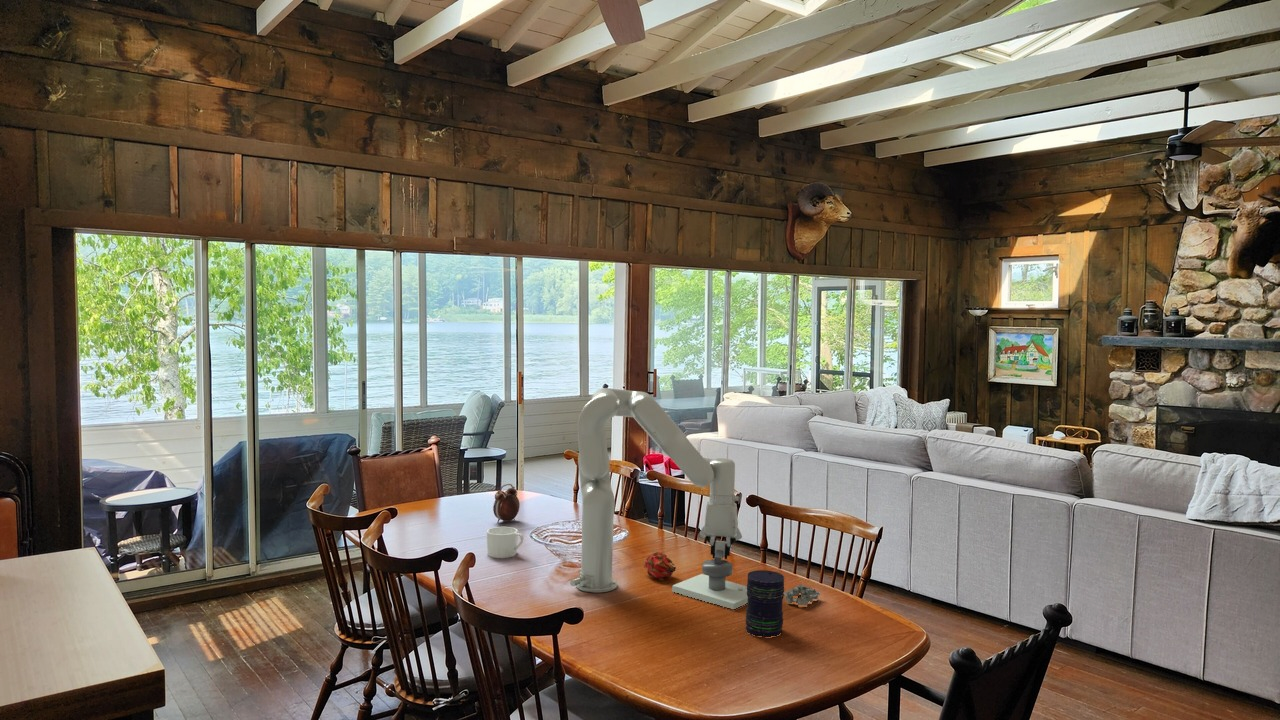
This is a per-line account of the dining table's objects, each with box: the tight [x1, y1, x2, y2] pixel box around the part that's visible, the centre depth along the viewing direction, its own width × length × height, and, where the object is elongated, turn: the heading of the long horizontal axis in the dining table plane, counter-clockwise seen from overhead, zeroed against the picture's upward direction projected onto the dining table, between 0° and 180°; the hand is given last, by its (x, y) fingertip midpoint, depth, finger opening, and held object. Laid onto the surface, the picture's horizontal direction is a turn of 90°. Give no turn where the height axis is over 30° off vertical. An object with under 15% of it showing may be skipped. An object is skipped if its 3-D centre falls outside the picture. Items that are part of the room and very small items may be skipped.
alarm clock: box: [492, 483, 520, 524], centre depth 318 cm, size 11×5×15 cm, turn 144°
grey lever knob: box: [701, 540, 734, 577], centre depth 245 cm, size 15×9×6 cm, turn 170°
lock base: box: [671, 573, 748, 610], centre depth 242 cm, size 15×22×6 cm
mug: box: [486, 526, 525, 559], centre depth 276 cm, size 13×10×8 cm
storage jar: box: [745, 569, 785, 637], centre depth 215 cm, size 10×10×15 cm
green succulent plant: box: [784, 583, 821, 606], centre depth 238 cm, size 11×8×4 cm
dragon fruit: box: [643, 551, 677, 581], centre depth 256 cm, size 8×8×12 cm
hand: (720, 557), depth 251 cm, fingers closed on grey lever knob, 3 cm apart
